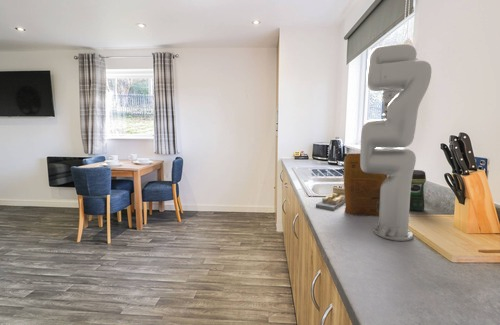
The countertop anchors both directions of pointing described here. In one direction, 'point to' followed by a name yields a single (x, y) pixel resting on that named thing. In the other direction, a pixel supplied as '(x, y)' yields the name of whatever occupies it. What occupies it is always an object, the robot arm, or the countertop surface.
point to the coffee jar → (417, 191)
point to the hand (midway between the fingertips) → (389, 133)
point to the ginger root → (338, 198)
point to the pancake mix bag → (361, 188)
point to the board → (328, 204)
